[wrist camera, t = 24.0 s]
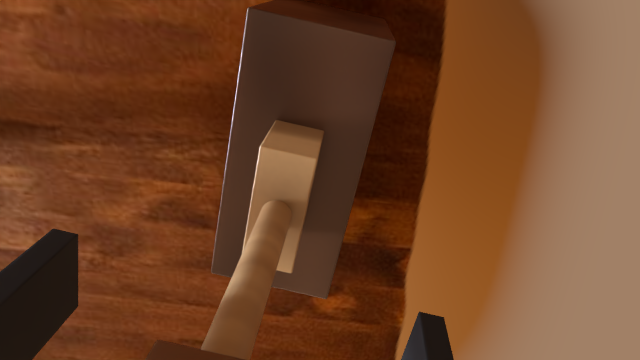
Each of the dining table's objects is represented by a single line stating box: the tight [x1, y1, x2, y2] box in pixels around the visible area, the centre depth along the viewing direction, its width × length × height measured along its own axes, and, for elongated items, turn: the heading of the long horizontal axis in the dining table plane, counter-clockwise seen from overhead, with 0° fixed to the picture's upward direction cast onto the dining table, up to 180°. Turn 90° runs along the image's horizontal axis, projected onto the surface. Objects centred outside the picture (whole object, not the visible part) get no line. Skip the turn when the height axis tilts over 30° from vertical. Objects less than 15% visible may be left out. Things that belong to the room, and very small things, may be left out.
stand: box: [211, 0, 396, 299], centre depth 30 cm, size 7×15×12 cm, turn 168°
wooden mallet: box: [145, 120, 324, 360], centre depth 17 cm, size 6×3×17 cm, turn 168°
